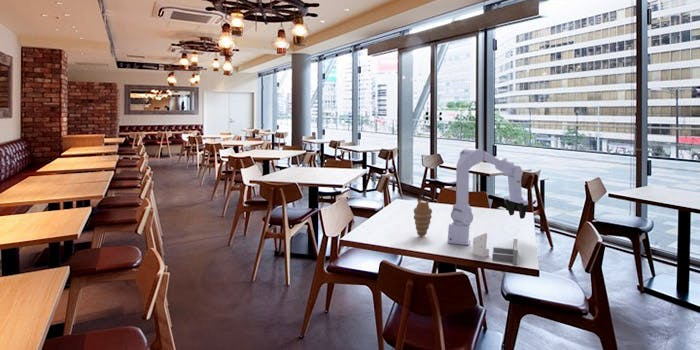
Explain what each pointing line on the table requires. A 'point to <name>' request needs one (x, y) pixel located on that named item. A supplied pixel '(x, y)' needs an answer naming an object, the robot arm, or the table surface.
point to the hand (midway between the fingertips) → (517, 216)
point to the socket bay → (506, 253)
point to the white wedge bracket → (480, 245)
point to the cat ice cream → (422, 217)
